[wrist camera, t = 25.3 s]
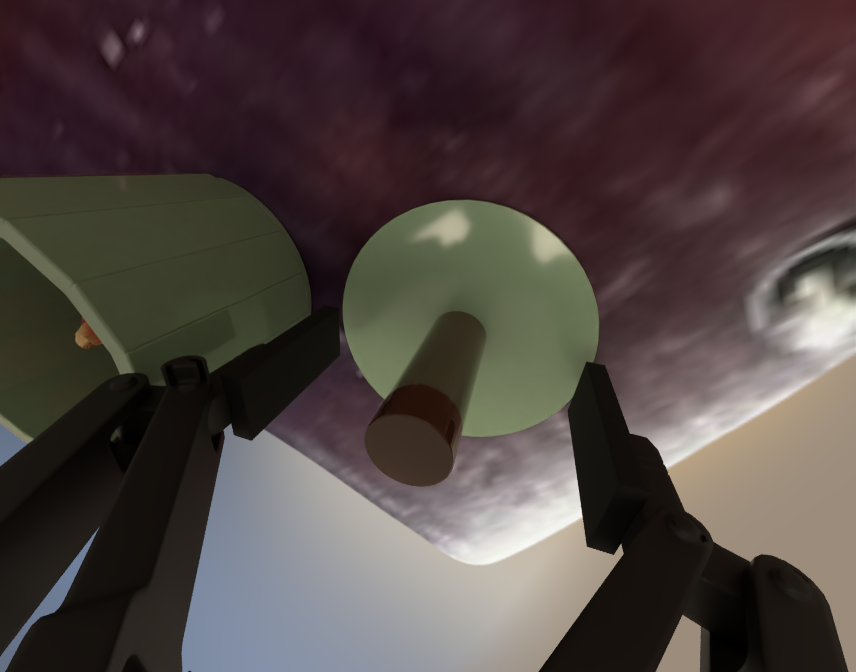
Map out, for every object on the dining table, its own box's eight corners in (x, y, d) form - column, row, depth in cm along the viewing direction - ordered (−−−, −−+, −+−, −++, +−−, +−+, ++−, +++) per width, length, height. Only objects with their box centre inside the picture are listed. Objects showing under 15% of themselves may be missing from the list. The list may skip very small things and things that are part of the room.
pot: (140, 133, 19) (-208, 103, 10) (333, 235, 19) (147, 298, 10) (146, 312, 26) (-65, 391, 17) (291, 391, 25) (154, 518, 16)
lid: (398, 146, 16) (249, 123, 8) (660, 281, 15) (811, 416, 7) (328, 359, 23) (209, 470, 14) (508, 457, 22) (493, 632, 14)
